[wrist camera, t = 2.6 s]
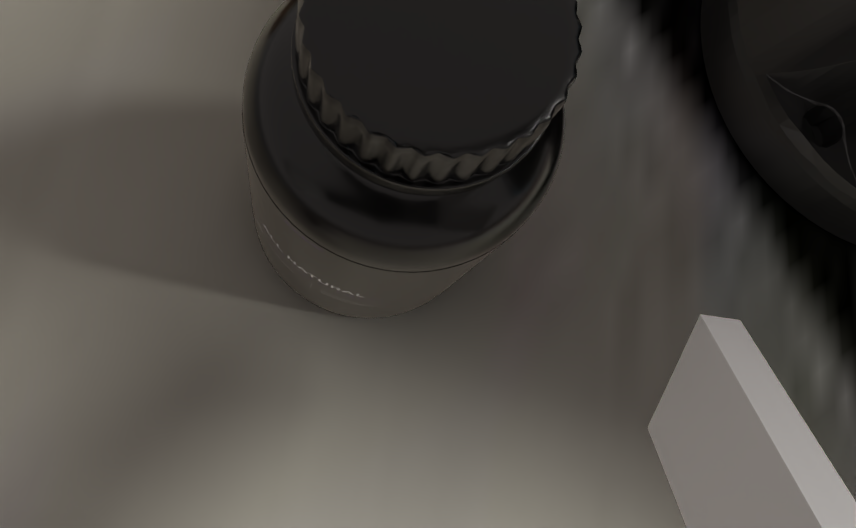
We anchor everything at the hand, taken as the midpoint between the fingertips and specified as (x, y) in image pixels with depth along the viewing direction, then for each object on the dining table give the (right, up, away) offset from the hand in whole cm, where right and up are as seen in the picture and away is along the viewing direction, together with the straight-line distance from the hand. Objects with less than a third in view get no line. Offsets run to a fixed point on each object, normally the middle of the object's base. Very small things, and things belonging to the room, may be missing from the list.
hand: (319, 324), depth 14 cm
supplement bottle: (0, +3, +11) cm, 11 cm away
